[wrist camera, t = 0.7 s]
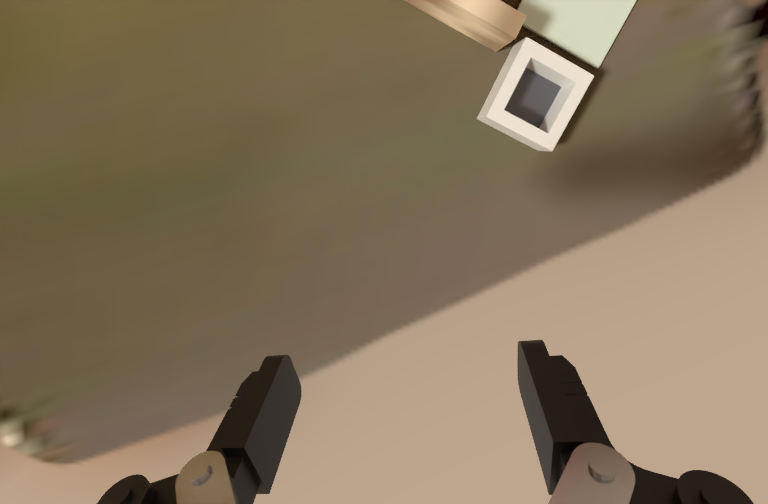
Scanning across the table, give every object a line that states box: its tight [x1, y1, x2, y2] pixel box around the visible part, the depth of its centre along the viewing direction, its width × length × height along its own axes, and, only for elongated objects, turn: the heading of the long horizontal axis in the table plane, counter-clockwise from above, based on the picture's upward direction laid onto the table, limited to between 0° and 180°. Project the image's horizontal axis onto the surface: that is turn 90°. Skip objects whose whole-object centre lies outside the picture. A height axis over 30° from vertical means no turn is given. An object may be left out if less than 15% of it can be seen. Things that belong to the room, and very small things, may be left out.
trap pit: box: [477, 37, 594, 151], centre depth 29 cm, size 6×6×2 cm
